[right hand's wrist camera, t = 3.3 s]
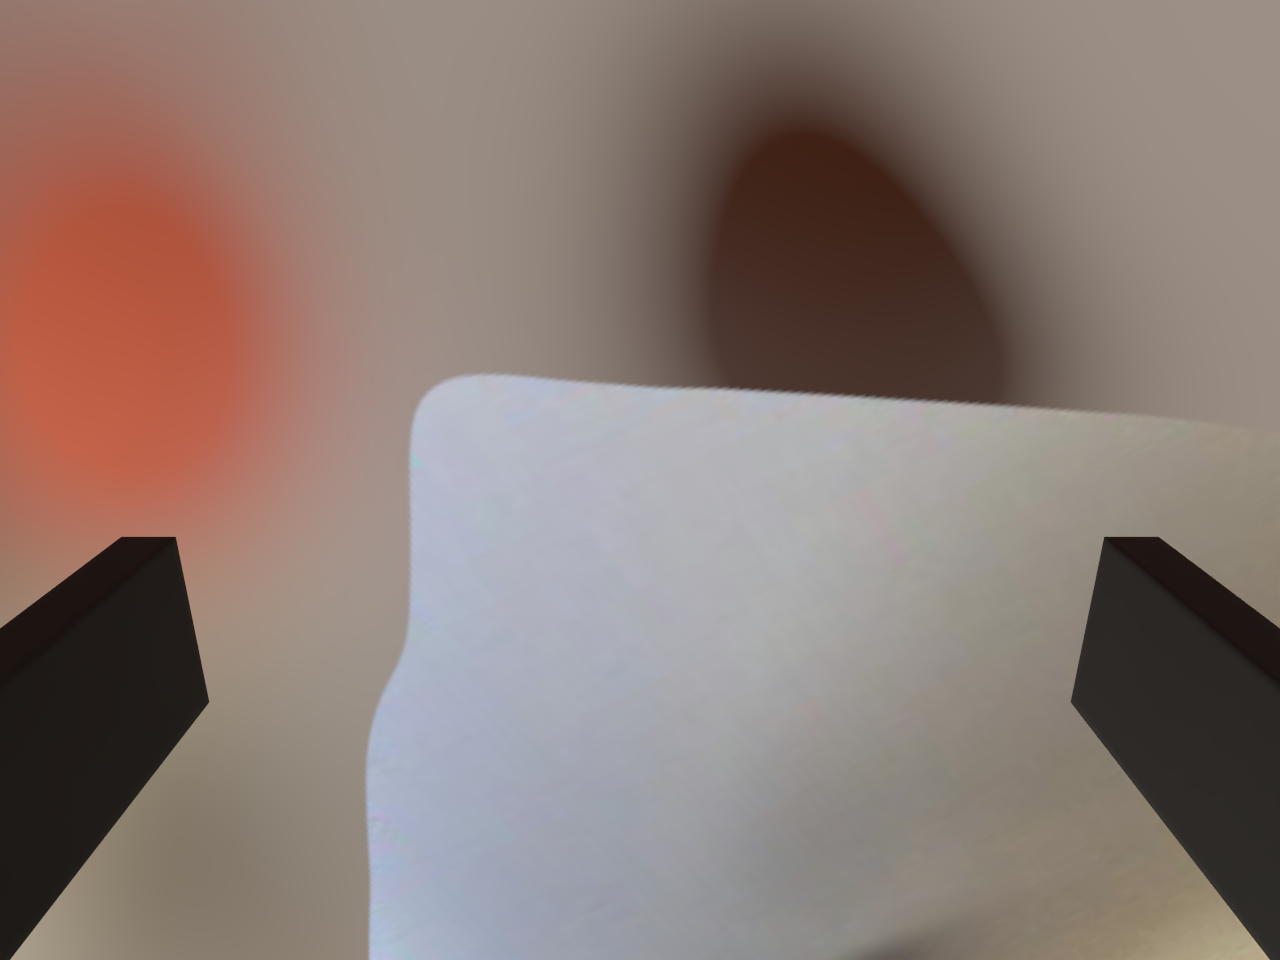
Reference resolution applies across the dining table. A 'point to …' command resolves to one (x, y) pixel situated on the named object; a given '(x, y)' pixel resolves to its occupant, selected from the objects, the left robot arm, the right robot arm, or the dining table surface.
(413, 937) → the dining table surface
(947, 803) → the dining table surface
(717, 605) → the dining table surface
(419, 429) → the dining table surface
